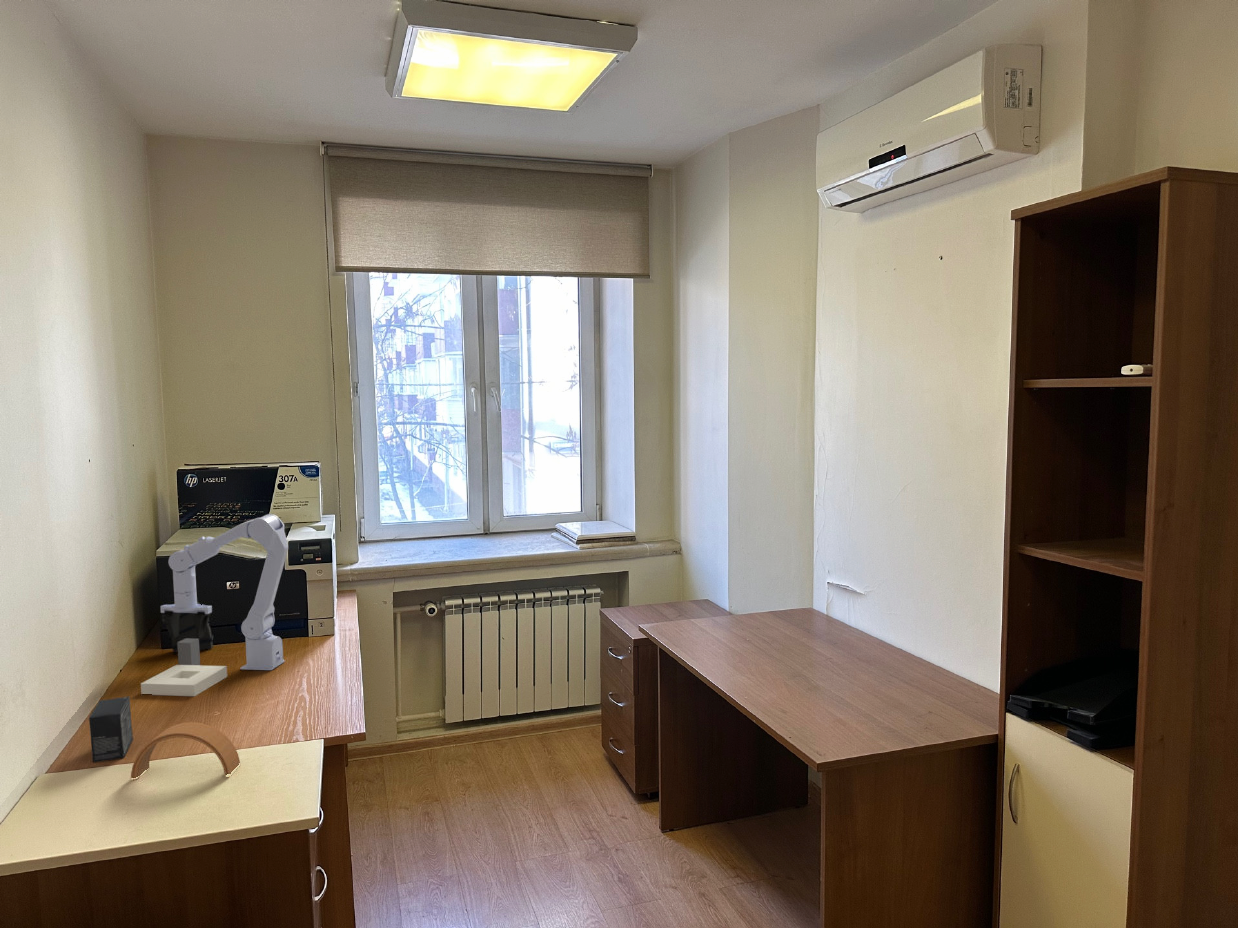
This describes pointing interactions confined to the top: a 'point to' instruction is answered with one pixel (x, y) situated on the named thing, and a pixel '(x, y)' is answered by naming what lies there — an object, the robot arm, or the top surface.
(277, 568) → the robot arm
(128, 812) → the top surface
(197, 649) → the plug
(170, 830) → the top surface
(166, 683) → the socket
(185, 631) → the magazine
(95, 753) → the small box
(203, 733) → the brown half-ring arch
